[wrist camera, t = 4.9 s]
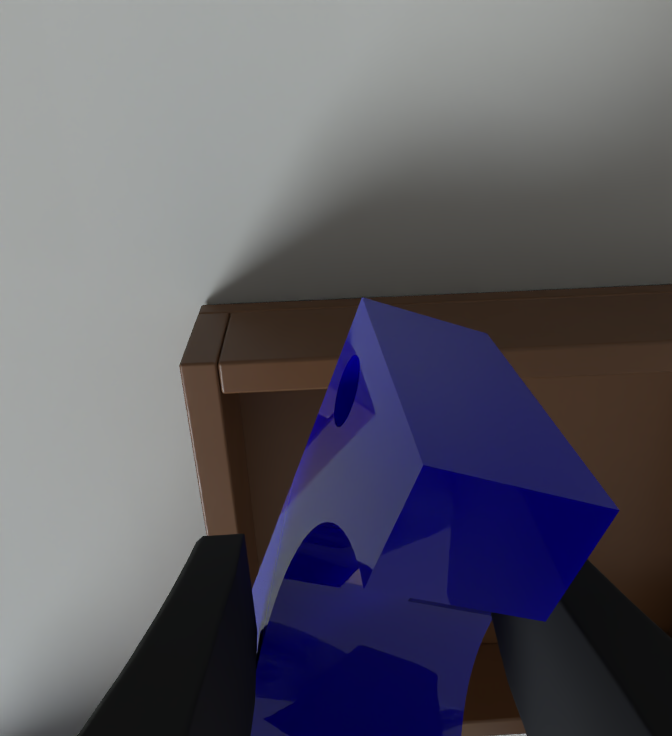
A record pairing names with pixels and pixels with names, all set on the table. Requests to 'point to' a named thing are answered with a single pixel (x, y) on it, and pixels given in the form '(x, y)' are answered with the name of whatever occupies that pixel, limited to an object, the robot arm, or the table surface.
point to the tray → (530, 361)
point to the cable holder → (413, 532)
